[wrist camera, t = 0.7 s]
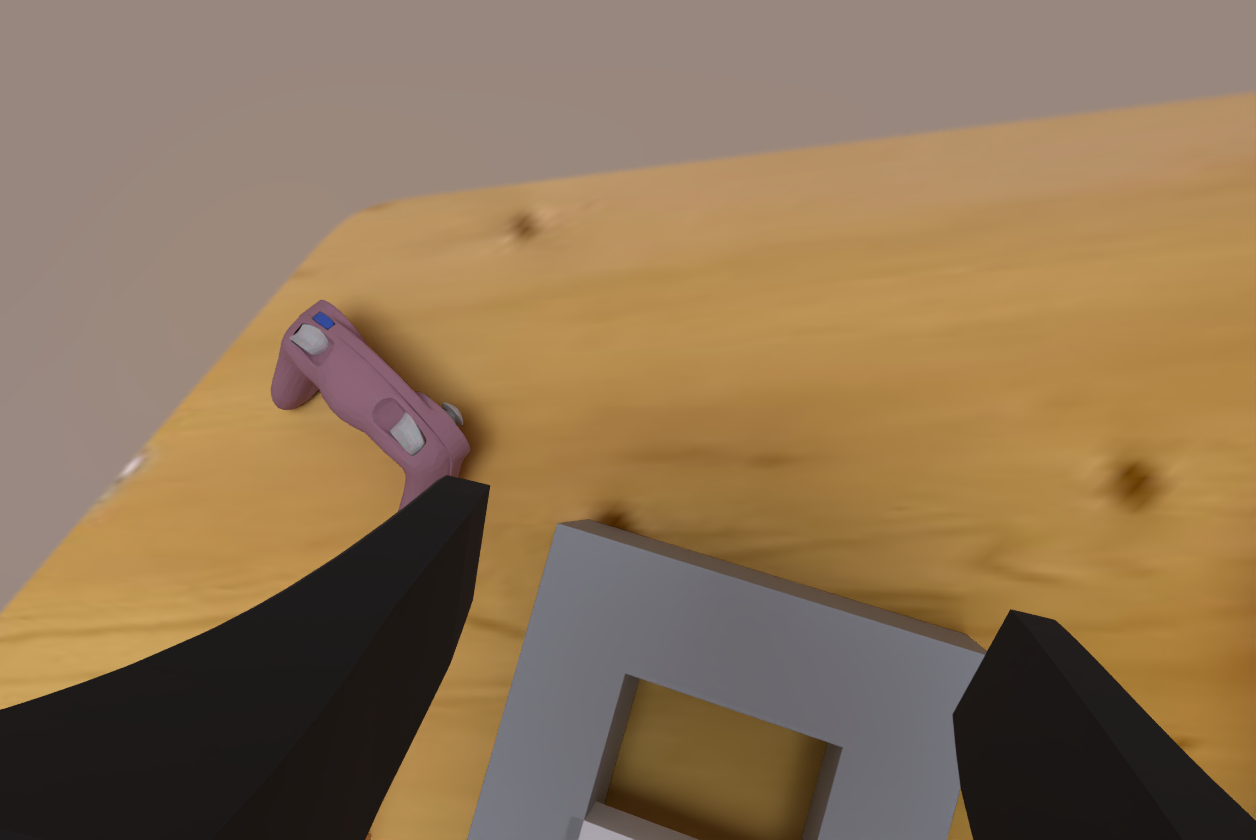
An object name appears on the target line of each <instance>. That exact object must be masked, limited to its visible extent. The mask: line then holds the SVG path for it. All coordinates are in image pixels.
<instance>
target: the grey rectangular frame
mask: <svg viewBox="0 0 1256 840" xmlns="http://www.w3.org/2000/svg"><path fill="white" fill-rule="evenodd" d="M986 653H987V651H986V650H985V649H984V648H982V647H981V646H980V645H979V644H978V643H976V642H975V641H974V640H973V639H971V638H970V637H969V636H968V635H966V634H963V633H959V632H956V631H953V630H950V629H946V628H943V627H940V626H936V625H933V624H930V623H927V622H923V621H920V620H917V619H913V618H910V617H907V616H904V615H900V614H897V613H894V612H890V611H887V610H884V609H881V608H877V607H874V606H871V605H868V604H864V603H861V602H858V601H854V600H851V599H848V598H845V597H841V596H838V595H835V594H831V593H828V592H825V591H822V590H818V589H815V588H812V587H808V586H805V585H802V584H799V583H795V582H792V581H789V580H785V579H782V578H779V577H776V576H772V575H769V574H766V573H763V572H759V571H756V570H753V569H749V568H746V567H743V566H740V565H736V564H733V563H730V562H726V561H723V560H720V559H717V558H713V557H710V556H707V555H703V554H700V553H697V552H694V551H690V550H687V549H684V548H680V547H677V546H674V545H671V544H667V543H664V542H661V541H658V540H654V539H651V538H648V537H644V536H641V535H638V534H635V533H631V532H628V531H625V530H621V529H618V528H615V527H612V526H608V525H605V524H602V523H598V522H595V521H592V520H589V519H587V520H579V521H571V522H563V523H557V527H556V530H555V534H554V537H553V541H552V544H551V548H550V551H549V555H548V558H547V562H546V565H545V569H544V572H543V576H542V579H541V583H540V586H539V590H538V593H537V597H536V600H535V604H534V607H533V611H532V614H531V618H530V621H529V625H528V628H527V632H526V635H525V639H524V642H523V646H522V649H521V653H520V656H519V660H518V663H517V667H516V670H515V674H514V677H513V681H512V684H511V688H510V691H509V695H508V698H507V702H506V705H505V709H504V712H503V716H502V719H501V723H500V726H499V730H498V733H497V737H496V740H495V744H494V747H493V751H492V754H491V758H490V761H489V765H488V768H487V772H486V775H485V779H484V782H483V786H482V789H481V793H480V796H479V800H478V803H477V807H476V810H475V814H474V817H473V821H472V824H471V828H470V831H469V835H468V838H467V840H698V839H695V838H693V837H690V836H687V835H685V834H682V833H679V832H677V831H674V830H671V829H669V828H666V827H663V826H661V825H658V824H655V823H653V822H650V821H647V820H645V819H642V818H639V817H637V816H634V815H631V814H629V813H626V812H623V811H620V810H618V809H615V808H612V807H610V806H607V805H604V803H605V799H606V796H607V792H608V789H609V785H610V782H611V778H612V774H613V771H614V767H615V764H616V760H617V757H618V753H619V750H620V746H621V742H622V739H623V735H624V732H625V728H626V725H627V721H628V718H629V714H630V710H631V707H632V703H633V700H634V696H635V693H636V689H637V686H638V682H639V678H640V679H643V680H646V681H649V682H652V683H655V684H658V685H661V686H664V687H666V688H669V689H672V690H675V691H678V692H681V693H684V694H687V695H690V696H693V697H696V698H699V699H702V700H705V701H708V702H711V703H714V704H716V705H719V706H722V707H725V708H728V709H731V710H734V711H737V712H740V713H743V714H746V715H749V716H752V717H755V718H758V719H761V720H764V721H767V722H769V723H772V724H775V725H778V726H781V727H784V728H787V729H790V730H793V731H796V732H799V733H802V734H805V735H808V736H811V737H814V738H817V739H820V740H822V741H825V742H828V743H827V747H826V750H825V754H824V758H823V761H822V765H821V769H820V772H819V776H818V780H817V783H816V787H815V791H814V794H813V798H812V802H811V805H810V809H809V813H808V816H807V820H806V823H805V827H804V831H803V834H802V838H801V840H947V837H948V833H949V829H950V826H951V822H952V818H953V814H954V811H955V807H956V803H957V800H958V796H959V792H960V788H961V787H960V780H959V772H958V765H957V757H956V748H955V737H954V727H953V716H952V714H953V712H954V710H955V709H956V707H957V705H958V703H959V701H960V700H961V698H962V696H963V694H964V692H965V691H966V689H967V687H968V685H969V683H970V682H971V680H972V678H973V676H974V674H975V673H976V671H977V669H978V667H979V665H980V663H981V662H982V660H983V658H984V656H985V654H986Z"/></svg>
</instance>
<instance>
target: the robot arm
mask: <svg viewBox="0 0 1256 840" xmlns="http://www.w3.org/2000/svg"><path fill="white" fill-rule="evenodd" d="M489 490H490V485H487V484H482V483H478V482H474V481H470V480H466V479H461V478H457V477H453V476H449V475H446V476H444V477H442V478H440V479H438V480H437V481H436V482H434V483H433V484H432V485H431V486H430V487H428V488H427V489H426V490H425V491H424V492H422V493H421V494H420V495H419V496H417V497H416V498H415V499H414V500H412V501H411V502H410V503H409V504H407V505H406V506H405V507H404V508H402V509H401V510H400V511H398V512H397V513H396V514H395V515H393V516H392V517H391V518H389V519H388V520H387V521H385V522H384V523H383V524H382V525H380V526H379V527H377V528H376V529H375V530H373V531H372V532H370V533H369V534H368V535H366V536H365V537H363V538H362V539H361V540H359V541H358V542H357V543H355V544H354V545H352V546H351V547H350V548H348V549H347V550H345V551H344V552H342V553H341V554H340V555H338V556H337V557H335V558H334V559H332V560H331V561H329V562H327V563H326V564H324V565H323V566H321V567H320V568H318V569H316V570H315V571H313V572H312V573H310V574H309V575H307V576H305V577H304V578H302V579H301V580H299V581H298V582H296V583H294V584H293V585H291V586H290V587H288V588H286V589H285V590H283V591H281V592H280V593H278V594H276V595H274V596H273V597H271V598H269V599H267V600H266V601H264V602H262V603H260V604H259V605H257V606H255V607H253V608H251V609H249V610H248V611H246V612H244V613H242V614H240V615H238V616H236V617H234V618H232V619H230V620H228V621H227V622H225V623H223V624H221V625H219V626H217V627H215V628H213V629H211V630H209V631H206V632H204V633H202V634H200V635H198V636H196V637H193V638H191V639H189V640H186V641H184V642H182V643H179V644H177V645H175V646H173V647H170V648H168V649H166V650H163V651H161V652H159V653H156V654H154V655H152V656H150V657H147V658H145V659H143V660H140V661H138V662H136V663H133V664H131V665H128V666H126V667H123V668H121V669H118V670H115V671H113V672H110V673H107V674H105V675H102V676H99V677H97V678H94V679H91V680H88V681H86V682H83V683H80V684H77V685H74V686H72V687H69V688H66V689H63V690H60V691H57V692H54V693H51V694H48V695H45V696H42V697H39V698H36V699H33V700H30V701H27V702H24V703H21V704H18V705H14V706H11V707H8V708H5V709H1V710H0V840H365V839H366V837H367V835H368V832H369V830H370V828H371V826H372V823H373V821H374V819H375V817H376V814H377V812H378V810H379V808H380V806H381V803H382V801H383V799H384V797H385V795H386V793H387V791H388V789H389V787H390V785H391V783H392V781H393V779H394V777H395V775H396V773H397V771H398V769H399V767H400V765H401V763H402V761H403V759H404V757H405V755H406V753H407V751H408V749H409V747H410V745H411V743H412V741H413V739H414V737H415V735H416V733H417V731H418V729H419V727H420V725H421V723H422V721H423V719H424V717H425V715H426V713H427V711H428V709H429V706H430V704H431V702H432V700H433V698H434V696H435V694H436V692H437V690H438V688H439V686H440V684H441V682H442V680H443V678H444V676H445V674H446V672H447V670H448V667H449V665H450V663H451V660H452V658H453V655H454V652H455V649H456V646H457V644H458V641H459V638H460V635H461V633H462V630H463V627H464V624H465V621H466V618H467V615H468V612H469V610H470V607H471V604H472V601H473V596H474V589H475V582H476V576H477V569H478V563H479V556H480V549H481V543H482V536H483V530H484V523H485V516H486V510H487V503H488V497H489ZM952 716H953V727H954V737H955V748H956V757H957V765H958V772H959V780H960V787H961V791H962V795H963V800H964V804H965V808H966V812H967V816H968V820H969V824H970V828H971V832H972V836H973V840H1256V821H1255V820H1254V819H1253V818H1252V817H1251V816H1250V815H1249V814H1248V813H1247V812H1246V811H1245V810H1244V809H1243V808H1242V807H1241V806H1240V805H1239V804H1238V803H1237V802H1235V801H1234V800H1233V799H1232V798H1231V797H1230V796H1229V795H1228V794H1227V793H1226V792H1225V791H1224V790H1223V789H1222V788H1221V787H1220V786H1219V785H1218V784H1217V783H1215V782H1214V781H1213V780H1212V779H1211V778H1210V777H1209V776H1208V775H1207V774H1206V773H1205V772H1204V771H1203V770H1202V769H1201V768H1200V767H1199V766H1198V765H1197V764H1196V763H1195V762H1194V761H1193V760H1192V759H1191V758H1190V757H1189V756H1188V755H1187V754H1186V753H1185V752H1184V751H1183V750H1182V749H1181V748H1180V747H1179V746H1178V745H1177V744H1176V743H1175V742H1174V741H1173V740H1172V739H1171V737H1170V736H1169V735H1168V734H1167V733H1166V732H1165V731H1164V730H1163V729H1162V728H1161V727H1160V726H1159V725H1158V724H1157V723H1156V722H1155V721H1154V720H1153V719H1152V718H1151V717H1150V716H1149V715H1148V714H1147V713H1146V712H1145V711H1144V709H1143V708H1142V707H1141V706H1140V705H1139V704H1138V703H1137V702H1136V701H1135V700H1134V699H1133V698H1132V697H1131V696H1130V695H1129V694H1128V693H1127V692H1126V691H1125V690H1124V689H1123V687H1122V686H1121V685H1120V684H1119V683H1118V682H1117V681H1116V680H1115V679H1114V678H1113V677H1112V676H1111V675H1110V674H1109V673H1108V672H1107V671H1106V670H1105V669H1104V668H1103V666H1102V665H1101V664H1100V663H1099V662H1098V661H1097V660H1096V659H1095V658H1094V657H1093V656H1092V655H1091V654H1090V653H1089V652H1088V651H1087V650H1086V649H1085V648H1084V647H1083V646H1082V645H1081V644H1080V643H1079V642H1078V641H1077V640H1076V639H1075V638H1074V637H1073V636H1072V635H1071V634H1070V633H1069V632H1068V631H1067V630H1066V629H1064V628H1063V627H1062V626H1061V625H1060V624H1059V623H1058V622H1057V621H1056V620H1053V619H1049V618H1045V617H1041V616H1037V615H1032V614H1028V613H1024V612H1020V611H1016V610H1011V609H1010V611H1009V613H1008V615H1007V617H1006V618H1005V620H1004V622H1003V624H1002V626H1001V627H1000V629H999V631H998V633H997V635H996V636H995V638H994V640H993V642H992V644H991V645H990V647H989V649H988V651H987V653H986V654H985V656H984V658H983V660H982V662H981V663H980V665H979V667H978V669H977V671H976V673H975V674H974V676H973V678H972V680H971V682H970V683H969V685H968V687H967V689H966V691H965V692H964V694H963V696H962V698H961V700H960V701H959V703H958V705H957V707H956V709H955V710H954V712H953V714H952Z"/></svg>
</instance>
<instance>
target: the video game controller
mask: <svg viewBox="0 0 1256 840" xmlns="http://www.w3.org/2000/svg"><path fill="white" fill-rule="evenodd" d="M318 390H320V392H321V394H322V397H323V399H324V400H325V401H326V403H327V404H328V406H329V407H330V409H331V410H332V411H333V412H334V413H335V414H336V415H337V416H338V417H339V418H340V419H341V420H343V421H345V422H346V423H348V424H349V425H351V426H353V427H355V428H357V429H358V430H360V431H362V432H364V433H366V434H367V435H368V436H369V437H370V438H371V439H372V440H373V441H374V442H375V443H376V444H377V445H378V446H379V447H380V448H381V449H382V450H383V451H384V452H385V453H386V454H387V455H388V456H389V457H391V458H392V459H393V460H394V461H395V462H396V463H397V464H399V465H400V466H401V467H402V468H403V470H404V472H405V474H406V481H405V488H404V493H403V496H402V500H401V503H400V507H399V510H398V511H400V510H401V509H402V508H404V507H405V506H406V505H407V504H409V503H410V502H411V501H412V500H414V499H415V498H416V497H417V496H419V495H420V494H421V493H422V492H424V491H425V490H426V489H427V488H428V487H430V486H431V485H432V484H433V483H434V482H436V481H437V480H438V479H440V478H442V477H444V476H446V475H449V476H453V477H457V478H458V477H459V474H460V470H461V466H462V462H463V459H464V458H465V457H466V456H467V455H468V454H469V453H470V445H469V443H468V441H467V439H466V437H465V436H464V434H463V433H462V432H461V430H460V429H459V428H458V426H457V425H456V423H457V424H459V425H461V426H462V425H463V418H462V414H461V413H460V411H459V410H458V409H457V408H456V407H455V406H454V405H451V404H448V403H443V404H442V406H443V409H444V410H443V409H442V408H441V407H440V406H439V405H438V404H436V403H435V402H434V401H433V400H432V399H430V398H429V397H428V396H426V395H424V394H423V393H421V392H417V391H415V392H414V391H413V390H412V389H411V388H410V387H409V386H408V385H407V383H406V382H405V381H404V380H403V379H402V378H401V377H400V376H399V375H398V374H397V373H396V372H395V371H394V370H393V369H392V368H391V367H390V366H389V365H388V364H387V363H386V362H385V361H384V360H383V359H382V358H381V357H379V356H378V355H377V354H376V353H375V352H374V351H373V350H372V349H371V348H370V347H369V346H368V345H367V343H366V342H365V340H364V339H363V338H362V336H361V335H360V334H359V332H358V331H357V329H356V328H355V327H354V326H353V325H352V324H351V323H350V321H349V320H348V319H347V318H346V317H345V316H344V315H343V314H342V313H341V312H340V311H339V310H338V309H337V308H336V307H335V306H333V305H332V304H330V303H329V302H327V301H325V300H320V301H318V302H317V303H316V304H314V305H313V306H312V307H310V308H309V309H308V310H306V311H305V312H304V313H302V314H301V315H300V316H299V318H298V319H297V320H296V321H295V322H294V323H293V324H292V325H291V326H290V327H289V329H288V330H287V331H286V333H285V335H284V337H283V339H282V343H281V348H280V353H279V358H278V362H277V366H276V369H275V373H274V377H273V381H272V386H271V395H272V399H273V402H274V403H275V405H276V406H277V407H278V408H280V409H283V410H290V409H294V408H296V407H298V406H300V405H302V404H303V403H304V402H306V401H307V400H309V399H310V398H311V397H312V396H313V395H314V394H315V393H316V392H317V391H318Z"/></svg>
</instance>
